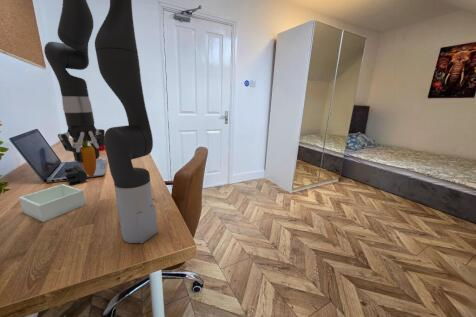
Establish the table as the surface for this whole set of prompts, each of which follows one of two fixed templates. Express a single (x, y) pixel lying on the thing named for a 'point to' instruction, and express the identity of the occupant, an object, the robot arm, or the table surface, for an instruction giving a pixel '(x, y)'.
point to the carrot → (88, 158)
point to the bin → (52, 202)
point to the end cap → (75, 175)
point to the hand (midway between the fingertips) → (88, 160)
